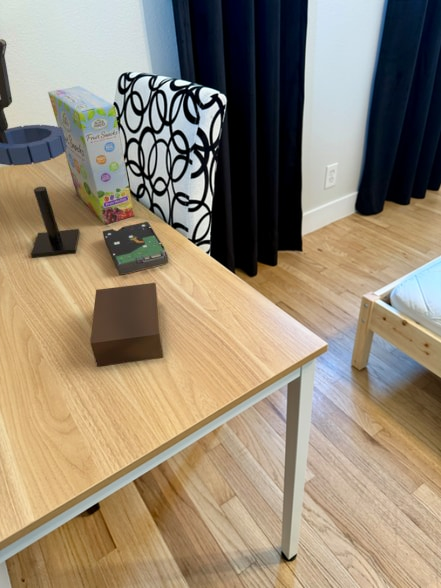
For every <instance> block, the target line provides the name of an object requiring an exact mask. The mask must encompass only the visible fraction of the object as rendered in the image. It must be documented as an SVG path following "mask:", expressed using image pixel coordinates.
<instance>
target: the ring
mask: <svg viewBox="0 0 441 588" xmlns="http://www.w3.org/2000/svg"><path fill="white" fill-rule="evenodd" d="M4 131H5V135H6V138H7V141H8V144H5V143H1V142H0V165H5V166H27V165H32V164H34V165H36V164H39V163H43V162H47V161H51V160H53V159H56V158H57V157H59V156H62V155H63V154H65V151H66V148H67V145H66V140H65V136H64V132H63V130H62V129H60V128H58V125H56V126H55V125H50V124H49V125H48V124H29V125H28V124H27V125H23V126H22V125H19V126H13V127H8V128H7V130H4Z"/></svg>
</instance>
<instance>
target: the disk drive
mask: <svg viewBox="0 0 441 588" xmlns="http://www.w3.org/2000/svg"><path fill="white" fill-rule="evenodd" d="M102 234H103V239H104V243H105V245H106V247H107V249H108V252H109V254H110V256H111V259H112V261H113V264H114V267H115V269H116V270H117V273H118V275H119V276H120V275H126V274H130V273H134V272H137V271H142V270H146V269H152V268H154V267H158V266H161V265H162V266H163V265H165V264H168V263H169V256H168V254H167V251H166V248H165V246H164V245H163V244H162V242H161V240H160V239H159V238H158V235H157V234H156V233H155V230H154V229H153V228H152V226H151V224H150V223H149V221H144V222H139V223H136V224H129V225H125V226H122V227H121V228H119V229H118V230H117V229H116V230H115V229H113V228H111V229H107V230H103V231H102Z"/></svg>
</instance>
